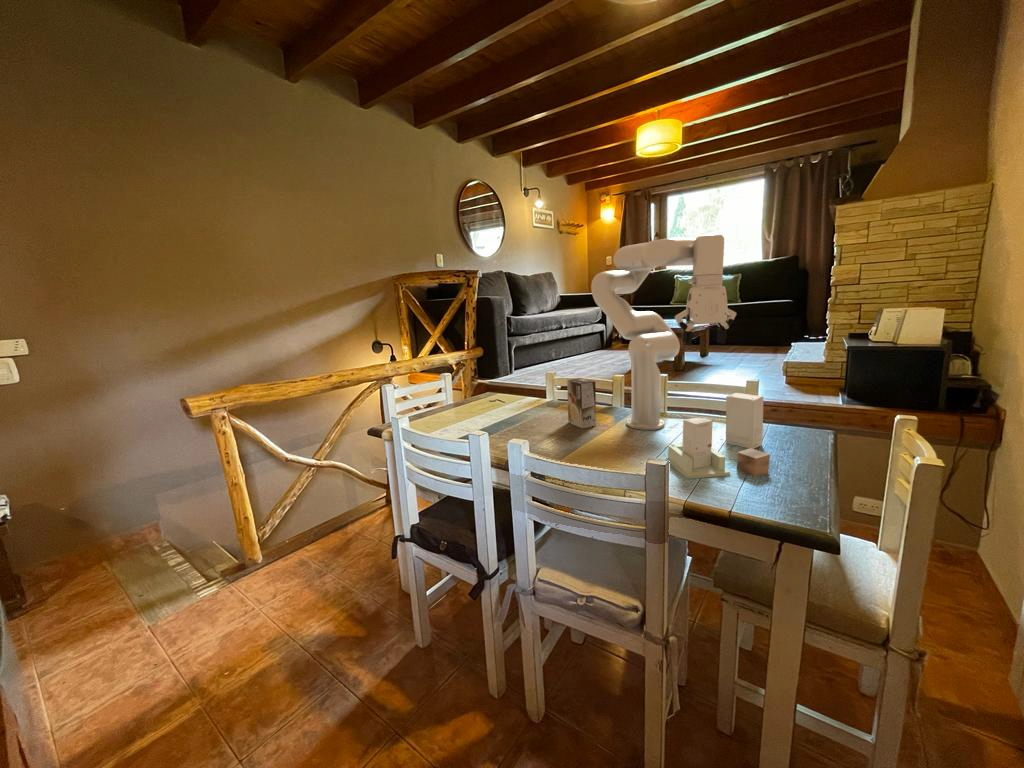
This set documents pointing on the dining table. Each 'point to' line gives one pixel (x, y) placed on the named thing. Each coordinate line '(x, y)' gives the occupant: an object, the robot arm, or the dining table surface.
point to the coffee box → (581, 402)
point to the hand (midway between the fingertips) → (704, 343)
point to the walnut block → (753, 462)
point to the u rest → (685, 463)
